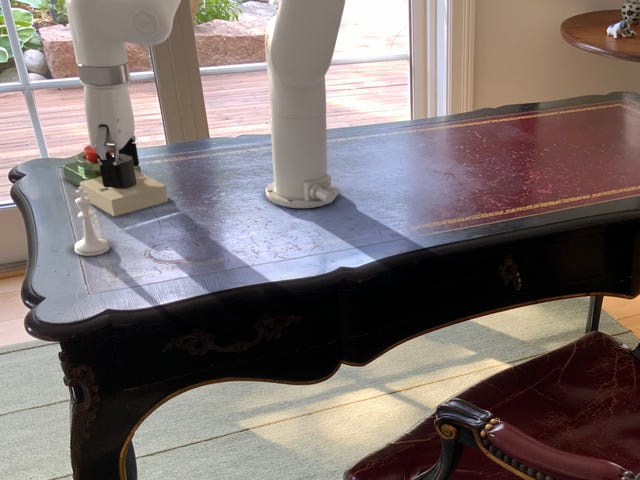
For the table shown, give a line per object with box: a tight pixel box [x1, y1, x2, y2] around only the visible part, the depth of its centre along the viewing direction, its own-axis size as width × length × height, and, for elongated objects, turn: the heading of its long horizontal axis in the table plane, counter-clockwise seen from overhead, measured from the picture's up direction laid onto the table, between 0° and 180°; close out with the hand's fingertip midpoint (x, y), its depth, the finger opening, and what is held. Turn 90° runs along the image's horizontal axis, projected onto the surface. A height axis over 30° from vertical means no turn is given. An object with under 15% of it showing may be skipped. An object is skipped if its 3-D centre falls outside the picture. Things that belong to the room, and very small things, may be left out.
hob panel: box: [80, 170, 169, 217], centre depth 141 cm, size 10×10×3 cm
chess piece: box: [74, 187, 111, 257], centre depth 123 cm, size 5×5×10 cm
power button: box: [83, 144, 113, 162], centre depth 145 cm, size 5×5×2 cm
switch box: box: [62, 150, 142, 188], centre depth 147 cm, size 10×8×4 cm
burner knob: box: [111, 153, 136, 188], centre depth 138 cm, size 4×4×5 cm
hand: (122, 175), depth 139 cm, fingers open, 9 cm apart
